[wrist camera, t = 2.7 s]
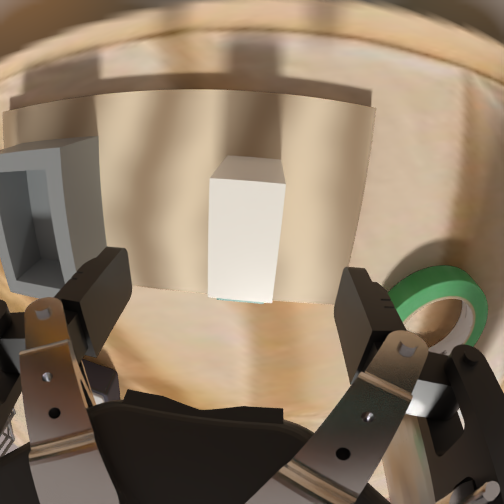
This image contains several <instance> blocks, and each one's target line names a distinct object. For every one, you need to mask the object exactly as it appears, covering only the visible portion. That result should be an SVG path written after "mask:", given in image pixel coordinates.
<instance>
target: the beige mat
mask: <svg viewBox="0 0 504 504" xmlns="http://www.w3.org/2000/svg"><path fill="white" fill-rule="evenodd" d="M375 113H376V108H374V107H369V106H364V105H358V104H353V103H347V102H341V101H335V100H329V99H322V98H315V97H307V96H299V95H290V94H280V93H269V92H256V91H240V90H211V89H179V90H150V91H134V92H121V93H110V94H101V95H92V96H85V97H77V98H71V99H64V100H58V101H52V102H47V103H42V104H37V105H32V106H27V107H22V108H18V109H14V110H9V111H5V112H3V137H4V149H5V148H8V147H11V146H14V145H18V144H21V143H27V142H35V141H43V140H53V139H63V138H75V137H88V136H99V165H100V182H101V196H102V207H103V217H104V226H105V235H106V243H107V246H109V247H120V248H126V250H127V252H128V258H129V265H130V273H131V280H132V285H133V286H140V287H148V288H156V289H165V290H173V291H182V292H191V293H200V294H208V219H209V182H210V177H211V176H212V174H213V173H214V172H215V171H216V169H217V168H218V167H219V166H220V164H221V163H222V162H223V161H224V159H225V158H226V157H227V156H228V155H229V156H244V157H257V158H269V159H280V160H281V161H282V166H283V171H284V176H285V182H286V189H285V198H284V207H283V216H282V225H281V233H280V242H279V250H278V259H277V267H276V275H275V283H274V291H273V299H272V300H275V301H288V302H301V303H316V304H331V305H335V300H336V296H337V292H338V288H339V284H340V280H341V276H342V272H343V269H344V268H345V267H348V266H349V262H350V258H351V253H352V249H353V244H354V239H355V235H356V230H357V225H358V220H359V215H360V210H361V205H362V199H363V194H364V188H365V182H366V177H367V170H368V164H369V158H370V151H371V144H372V137H373V130H374V122H375Z"/></svg>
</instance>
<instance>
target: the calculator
mask: <svg viewBox="0 0 504 504" xmlns="http://www.w3.org/2000/svg"><path fill="white" fill-rule="evenodd" d="M82 362H83V365H84V368H85V371H86V375H87V378H88V381H89V384H90V387H91V390H92V393H93V396H94V399H95V402H96V405H97V404H100V403H103V402H108V401H114V400H120V390H119V381H118V374H117V372H116V371H115V370H113V369H110V368H107V367H104V366H101V365H98V364H95V363H93V362H90V361H87V360H84V359H82Z"/></svg>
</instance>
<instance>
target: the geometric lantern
mask: <svg viewBox="0 0 504 504" xmlns="http://www.w3.org/2000/svg"><path fill="white" fill-rule="evenodd" d="M15 414H16V412H15V410H14V407H13V412H11V414H10V416H9V417H8V419H7V421H6V423H5V426H4V428H3V430H2V432H1V434H0V436H1V435H2V434H3V435H4V436H6V438H5V439H4V441H3V442H2V444H1V445H0V450H1V448H2V447H3V445H4V444H5V442H6V441H7V440H8V438H9V439H11V441H10V443H9V444H8V445H7V447H6V449H5V450H4V451H3V453H2V454H1V456H0V457H2V456H4V455H5V454H6V452H7V451H8V449H9V448H10V446H11V445H12V443H13V442H14V441H15V438H14V434H13V430H12V425H11V420H12V418H13V416H14V415H15ZM10 417H11V418H10ZM6 428H7V431H8V435H7V434H6V433H4V430H5V429H6ZM9 431H10V434H11V437H10V436H9Z"/></svg>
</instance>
